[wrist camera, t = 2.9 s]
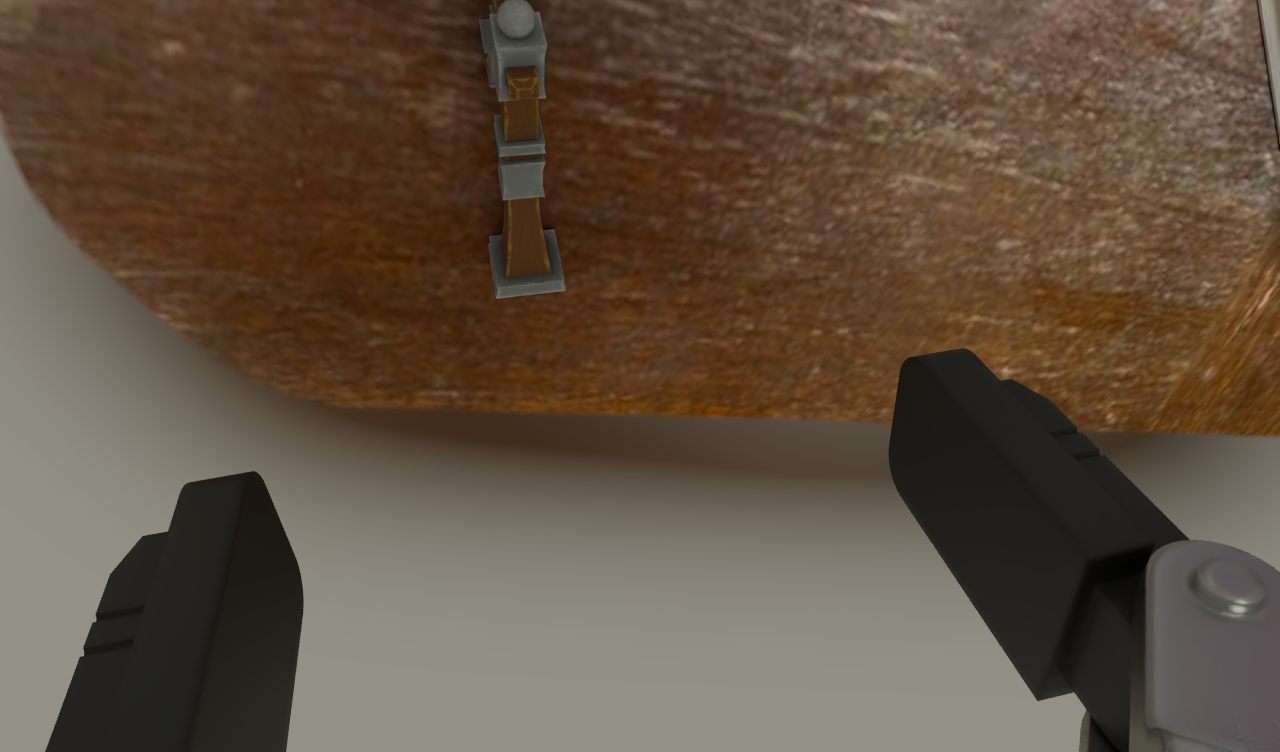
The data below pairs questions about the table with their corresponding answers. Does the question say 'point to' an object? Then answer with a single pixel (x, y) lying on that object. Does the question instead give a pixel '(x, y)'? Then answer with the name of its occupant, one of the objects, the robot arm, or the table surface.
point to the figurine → (1272, 48)
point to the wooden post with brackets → (520, 151)
